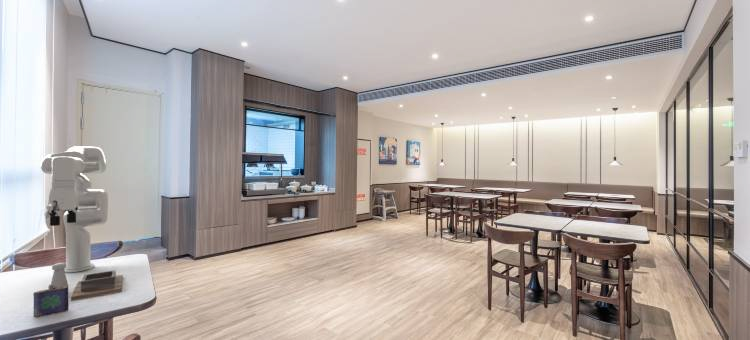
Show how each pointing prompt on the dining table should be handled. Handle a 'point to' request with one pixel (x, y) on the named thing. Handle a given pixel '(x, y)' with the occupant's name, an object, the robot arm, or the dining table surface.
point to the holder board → (97, 285)
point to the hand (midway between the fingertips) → (63, 224)
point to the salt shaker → (59, 275)
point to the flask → (51, 301)
